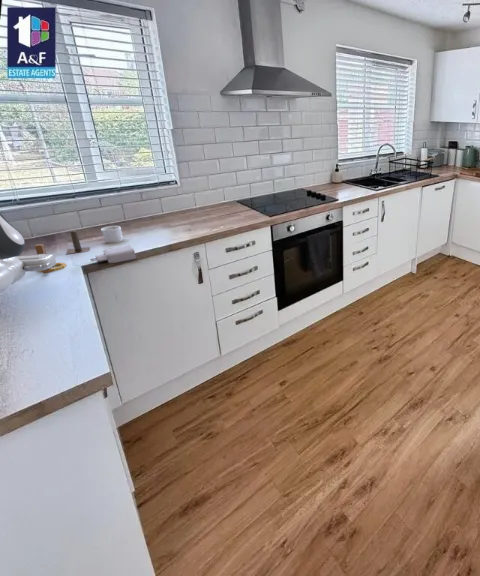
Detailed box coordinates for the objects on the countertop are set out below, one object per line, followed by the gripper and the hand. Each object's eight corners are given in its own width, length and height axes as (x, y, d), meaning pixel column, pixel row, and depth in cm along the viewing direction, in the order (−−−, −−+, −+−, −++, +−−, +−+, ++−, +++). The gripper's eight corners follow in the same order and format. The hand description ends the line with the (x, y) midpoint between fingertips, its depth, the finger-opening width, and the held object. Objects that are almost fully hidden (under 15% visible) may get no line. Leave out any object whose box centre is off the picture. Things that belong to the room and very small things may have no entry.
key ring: (60, 272, 142) (52, 244, 138) (32, 274, 139) (23, 246, 135) (69, 264, 150) (61, 238, 146) (43, 266, 147) (34, 239, 143)
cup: (100, 243, 180) (95, 227, 176) (118, 239, 186) (113, 223, 182) (110, 247, 174) (104, 231, 171) (128, 243, 180) (123, 227, 177)
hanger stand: (66, 256, 159) (60, 233, 156) (68, 251, 166) (62, 229, 162) (89, 253, 164) (83, 231, 160) (90, 249, 170) (84, 228, 166)
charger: (90, 262, 154) (131, 254, 163) (94, 269, 148) (137, 260, 157) (86, 252, 152) (128, 244, 161) (90, 257, 146) (134, 249, 155)
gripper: (43, 257, 118) (60, 246, 130) (-42, 262, 111) (-16, 250, 123) (49, 275, 120) (65, 263, 132) (-34, 282, 113) (-9, 268, 125)
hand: (25, 257), depth 127 cm, fingers open, 8 cm apart
